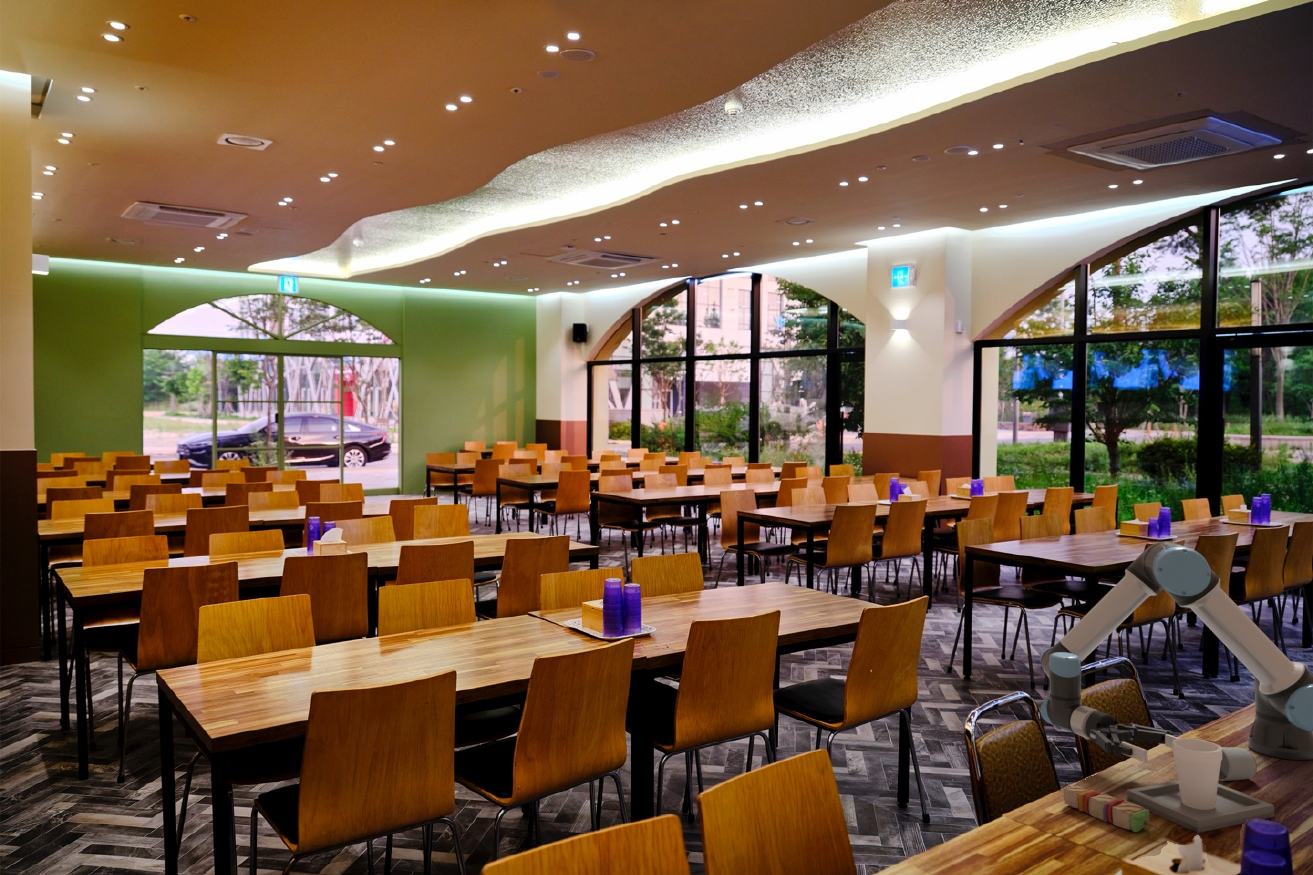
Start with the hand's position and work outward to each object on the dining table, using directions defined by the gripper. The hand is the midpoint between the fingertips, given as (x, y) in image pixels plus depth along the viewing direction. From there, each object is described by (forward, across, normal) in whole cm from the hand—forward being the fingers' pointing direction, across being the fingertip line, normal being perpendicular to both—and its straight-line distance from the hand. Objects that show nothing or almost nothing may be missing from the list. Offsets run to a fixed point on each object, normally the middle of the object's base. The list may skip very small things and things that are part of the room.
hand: (1168, 752), depth 207 cm
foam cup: (+7, 0, -9) cm, 12 cm away
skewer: (+5, +22, -10) cm, 25 cm away
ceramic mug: (-4, -23, -10) cm, 25 cm away
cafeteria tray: (+7, 0, -10) cm, 12 cm away
